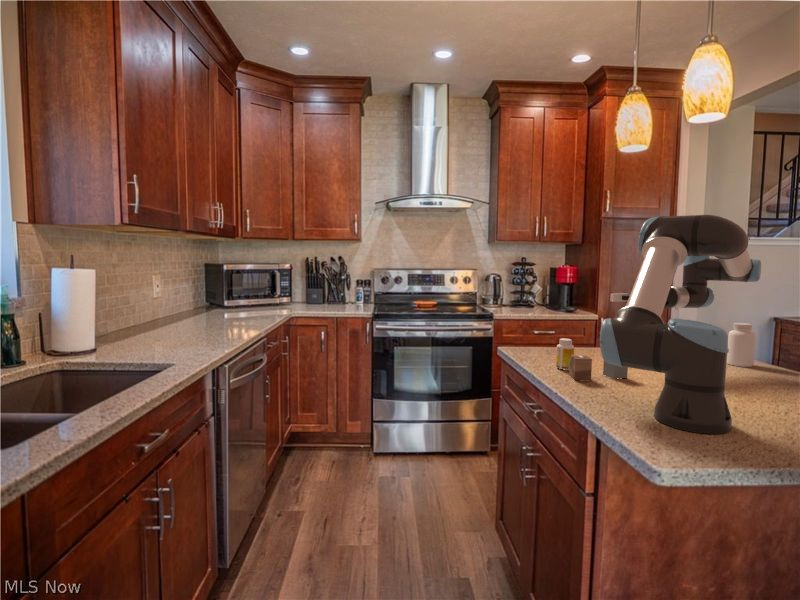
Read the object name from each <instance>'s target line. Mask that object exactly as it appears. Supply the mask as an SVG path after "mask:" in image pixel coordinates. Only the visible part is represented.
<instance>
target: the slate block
mask: <svg viewBox="0 0 800 600" xmlns="http://www.w3.org/2000/svg"><path fill="white" fill-rule="evenodd" d="M602 370H603V371H602V376H603V375H606V376H608V377H610V378H612V379H611V380H613V379H617V378H627V379H628V370H629V367H623V366H622V367H620V366H617V365H612V364H608V363H607V362H605V361H604V360H603V369H602ZM608 377H607V378H608ZM610 378H609V379H610Z"/></svg>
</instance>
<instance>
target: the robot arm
mask: <svg viewBox="0 0 800 600" xmlns="http://www.w3.org/2000/svg"><path fill="white" fill-rule="evenodd" d="M637 243H638V244H637V245H638V246H637V247H638V250H639V253H640V254H641V255H642V257H643V261H642V263H641V265H640V269H639V271H638V274H637V276H636V277H635V282H634V283H633V287H632V289H631V291H630V292H622V293H619V292H618V293H610V297H609V298H610V302H612V303H613V302H614V303H615V302H616V303H619V302H625V304H626V305H625V306H624V307H622V308H620V309H618V310H617V312H616V313H615V315H614V318H611V317H609V318H604V319H603V321H602V322H601V326H600V331H599V348H600V354H601V356H602V359H603V362H604V361H605V362H607V363H608V364H612V365H617V366H620V367H622V366H623V367H628V369H629V368H630V369H637V370H642V371H643V370H644V371H648V372H649V371H650V372H655V373H662V374H664V385H663V388H662V390H661V393H660V394H659V397H658V398H657V401H656V403H655V405H654V410H653V411H654V412H653V417H654V419H655V420H656V421H658V422H659V423H661V424H664V425H665V426H669V427H672V428H675V429H678V430H682V431H687V432H691V433H692V432H693V433H698V434H708V435H712V434H713V435H717V434H721V435H722V434H726V433H729V432H731V430H732V425H733V424H732V423H733V421H732V420H733V419H732V416H731V412H730V409H729V404H728V403H727V402H728V401H727V399H726V396H725V389H726V388H725V386H726V373H727V353H728V352H729V349H728V332H727V331H726V330H725V329H723V328H722V327H720V326H718V325H714V324H711V323H707V322H702V321H697V320H693V319H692V320H691V319H682V318H671V319H669V320H668V322H667V323H665V322H664V320H663V318H662V316H663V315H662V314H663V311H664V310H665V309H675V310H676V311H677V310H679V309H681V308H683V309H684V308H685V309H686V308H688V309H699V308H707V307H710V306H711V305H712V304H713V303H714V300H715V294H714V291H713V290H712V289H711V288H710V287H708V282H709V281H716V282H717V281H718V282H739V283H740V282H742V283H743V282H744V283H748V282H749V283H751V282H752V283H755V282H756V283H757V282H759V280H760V279H761V274H762V261H761V260H760V259H755V258H754V259H753V258H751V257H750V255H749V250H748V246H749V237H748V235H747V233H746V231H745V229H743V227H742V226H740V225H739V224H737V223H736V222H734V221H732V220H730V219H728V218H725V217H723V216H720V215H714V214H698V215H697V214H696V215H695V214H693V215H691V214H690V215H670V216H669V215H661V216H655V217H654V216H653V217H650V218H648V219H647V220H645V221H644V223H643V224H642V225H641V228H640V231H639V236H638V242H637ZM711 257H714V258H711ZM681 265H683V266H682V267H683V268H682V269H683V271H682V283H681V286H672V284H673V282H674V279H675V276H676V272H677V270H678V267H680V266H681Z"/></svg>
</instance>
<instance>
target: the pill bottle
mask: <svg viewBox="0 0 800 600" xmlns="http://www.w3.org/2000/svg"><path fill="white" fill-rule="evenodd" d="M752 330H753V324H752V323H745V322H734V323H733V330H730V331H729V332H728V333H727V335H728V349H729V352H728V353H727V363H726V365H727V364H728V365H730V366H733V365H734V366H735V367H739V366H740V367H741V368H751V367H753V366H754V364H755V363H754V361H755V351H756V342H757V341H756V339H757V336H756V333H754V332H753V331H752Z"/></svg>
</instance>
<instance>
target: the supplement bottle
mask: <svg viewBox="0 0 800 600" xmlns="http://www.w3.org/2000/svg"><path fill="white" fill-rule="evenodd" d="M570 355H575V345H574V344H573V340H572V339H570V338H565V337H564V338H563V337H562V338H559V344H557V345H556V359H555V362H556V365H555V367H557V368H559V369H558V370H560V369H565V370H564V371H569V370H570ZM557 368H556V369H557Z"/></svg>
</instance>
